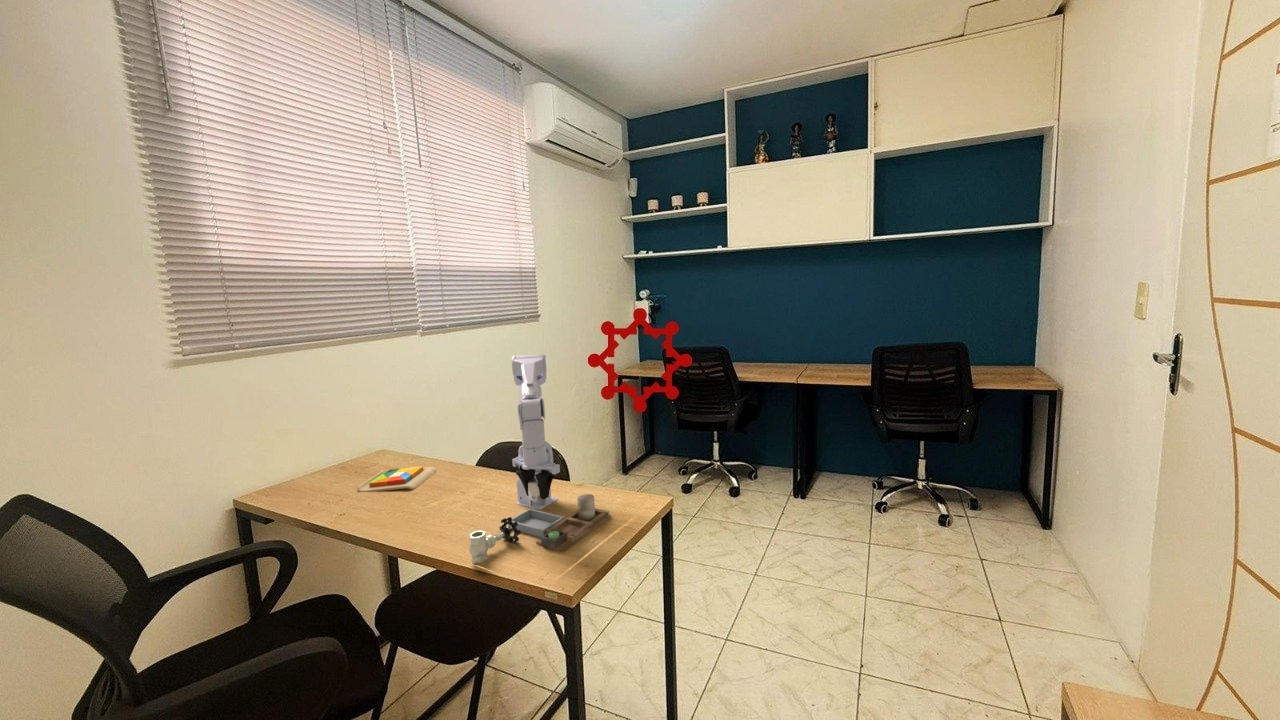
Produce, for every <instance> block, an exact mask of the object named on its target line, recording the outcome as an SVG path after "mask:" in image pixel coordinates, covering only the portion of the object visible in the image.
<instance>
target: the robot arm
mask: <svg viewBox="0 0 1280 720" xmlns="http://www.w3.org/2000/svg"><path fill="white" fill-rule="evenodd" d="M546 359H547V358H546V355H545V354H544V353H540V354H539V353H537V354H524V355H523V354H522V355H521V354H520V355H512V357H511V366H512V367H511V368H512V375H513V381H514V383H515V385H516V386H518V387H519V393H518V394H519V402H517V414H518V415H517V418H518V421H519V425H520V426H519V427H520V432H521V445H520V446H519V448H518V456H516V457H514V458H512V459H511V461H512V463H511V464H512V467H518V469H517V470H515V474H516V475H517V480H516V489H517V490H516V491H517V501H516V503H515V504H516V505H519V506H523V507H528V508H530V509H534V510H538V511H541V510H543V509H545V508H546V507H547V506H549V505H551V504H553V503H554V502H556V501H558V499H559V498H558V497H554V496H552V487H551V486H552V483H553V480H554V477H555V476H556V475H557V474H559V473H560V472H561V467H560V464H558V463H557V464H556V463H555V462H554V455H553V454H554V453H553V452H554V451H553V449H552V448H553V447H552V445H551V444H550V443H549V442H547V440H546V433H545V422H544V421H545V418H546V413H545V412H546V411H545V410H546V409H545V400H544V398H543V394H542V385H544V384H545V383H547V382H546V379H547V360H546ZM532 478H536V479H537V481H538V484H539V488H540V496H541V499H543V500H544V499H546V500H547V503H546V504H544V505H542V506H538V507H533V506H530V505H529V494H528V480H530V479H532Z"/></svg>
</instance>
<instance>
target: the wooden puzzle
mask: <svg viewBox="0 0 1280 720" xmlns="http://www.w3.org/2000/svg"><path fill="white" fill-rule="evenodd" d="M434 472H435V473H437V470H436V468H435V467H433V466H428V467H424V466H423V465H421V466H413V467H406V468H405V467H404V468H393V469H389V470H388V469H383V470H381V471H379V472H378V473H376V474H375V475H373V476H372V477H370V478H369V479H367V480H366V481H364V482H363V483H361V484H360V485H358V487H357V490H358V492H359V493H361V492H362V493H367V492H368V493H369V492H371V493H372V492H373V493H374V492H383V491H393V490H401V489H403V490H404V489H408V490H411V491H413V490H415V488H416V489H417V488H418V487H419V486H421V485H422V484H423V483H425V482H426V481H427V480H428V479H429V478H430V477H429V476H430V475H432V474H433V473H434ZM435 473H434V474H435ZM434 474H433V475H434ZM433 475H432V476H433ZM428 477H429V478H428ZM427 478H428V479H427ZM426 479H427V480H426ZM425 480H426V481H425ZM421 483H422V484H421ZM420 484H421V485H420Z"/></svg>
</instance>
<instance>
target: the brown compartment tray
mask: <svg viewBox="0 0 1280 720" xmlns="http://www.w3.org/2000/svg"><path fill="white" fill-rule="evenodd" d="M611 517H612V514H610V511H608V510H604V509H601V508H600V509H599V508H596V506H595V496H594V495H593V494H589V493H585V494H581V495H579V496H578V497H577V510H575V511H573V512H572V513H570V514H569V515H567V516H565V517H564V519H563V520H561V521H560V522H558V523H556V524H555V525H553V526H552V527H550V528H549V529H547V530H546V534H545V535H543V536H542V537H541V538H539V539H538V540H536V541H535V543H536V545H538V546H541V547H545V548H548V549H552V550H556V551H558V552H562V553H564V552H566V551H567V550H568V549H570V548H571V547H573V546H574V545H576V543H578V542H579V541H580V540H582V539H583V538H584V537H586V536H587V535H588V534H590V533H591V532H593V531H594V530H596V529H597V528H598V527H599V526H600V525H602V524H603V523H605V522H606V521H607V520H609V519H610V518H611ZM552 531H558V532H559V537H558V538H557V539H555V540H554V539H550V538H549V536H548V534H549V533H550V532H552Z"/></svg>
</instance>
